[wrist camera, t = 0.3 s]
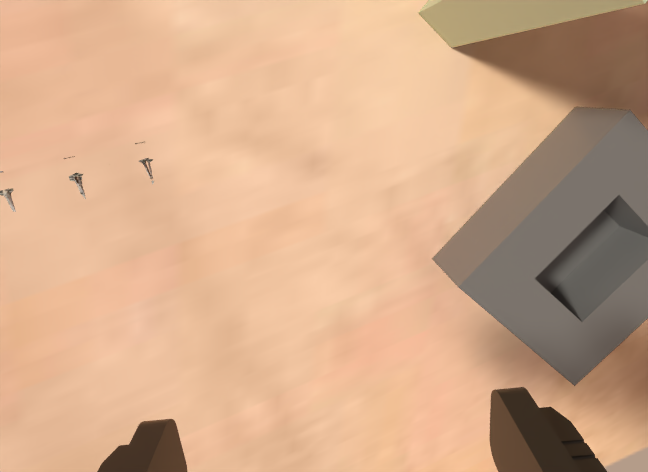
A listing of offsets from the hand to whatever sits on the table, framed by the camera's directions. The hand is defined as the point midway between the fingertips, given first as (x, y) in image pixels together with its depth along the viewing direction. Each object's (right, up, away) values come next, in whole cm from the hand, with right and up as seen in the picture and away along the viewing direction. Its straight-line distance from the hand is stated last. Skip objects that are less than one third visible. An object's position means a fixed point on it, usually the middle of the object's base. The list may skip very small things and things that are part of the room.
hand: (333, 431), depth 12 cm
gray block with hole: (+17, +5, +22) cm, 28 cm away
